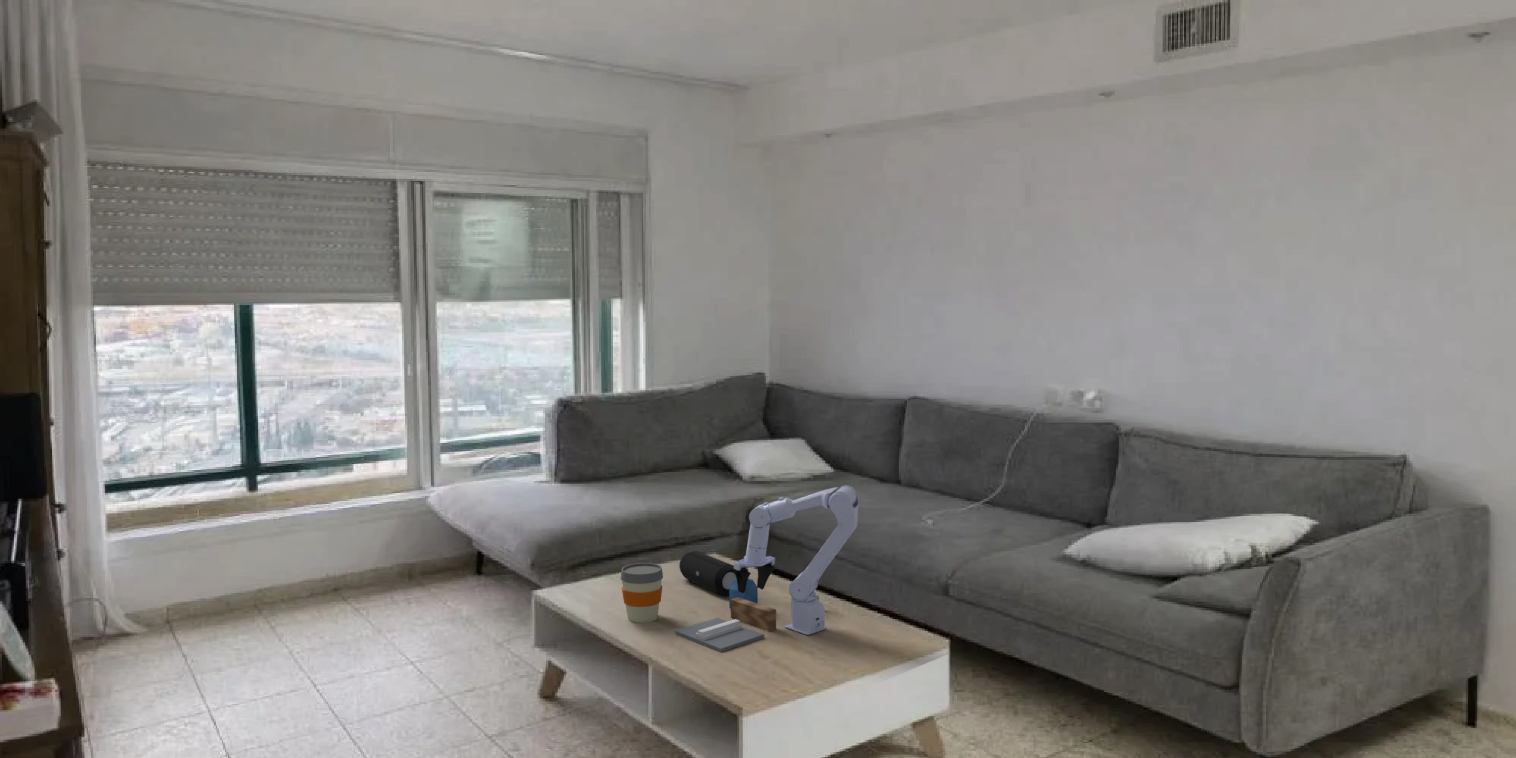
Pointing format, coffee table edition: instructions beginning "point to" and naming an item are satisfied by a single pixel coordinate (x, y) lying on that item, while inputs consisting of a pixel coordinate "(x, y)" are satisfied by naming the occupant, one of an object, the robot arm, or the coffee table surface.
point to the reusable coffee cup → (642, 591)
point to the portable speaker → (707, 571)
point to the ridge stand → (719, 634)
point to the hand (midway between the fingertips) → (750, 590)
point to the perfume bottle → (749, 593)
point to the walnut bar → (753, 614)
